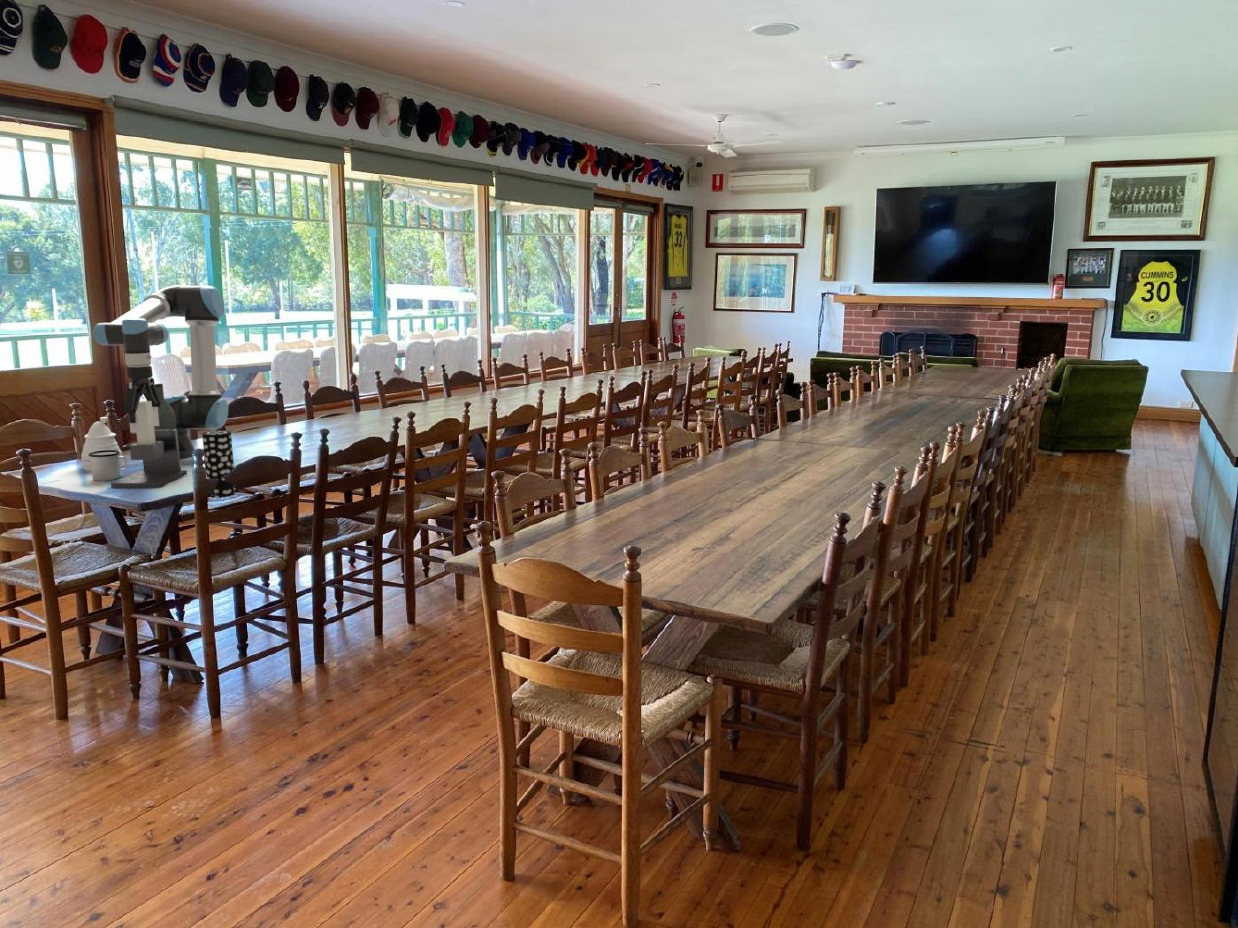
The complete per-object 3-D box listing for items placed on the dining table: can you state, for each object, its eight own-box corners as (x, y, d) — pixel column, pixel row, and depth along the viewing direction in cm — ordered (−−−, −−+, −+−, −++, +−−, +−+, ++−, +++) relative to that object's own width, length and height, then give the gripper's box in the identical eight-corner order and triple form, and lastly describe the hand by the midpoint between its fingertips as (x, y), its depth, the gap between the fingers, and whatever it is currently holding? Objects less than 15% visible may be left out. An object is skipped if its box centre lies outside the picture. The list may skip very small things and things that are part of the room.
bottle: (172, 468, 331) (164, 385, 325) (147, 468, 331) (139, 385, 325) (185, 463, 340) (177, 382, 334) (160, 463, 340) (152, 382, 334)
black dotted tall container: (239, 491, 296) (235, 430, 292) (230, 497, 288) (224, 435, 284) (213, 491, 296) (208, 430, 292) (203, 497, 288) (197, 435, 284)
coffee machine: (141, 474, 321) (136, 429, 318) (187, 474, 321) (183, 429, 318) (111, 487, 301) (106, 439, 298) (160, 487, 302) (155, 439, 298)
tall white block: (144, 453, 311) (139, 401, 308) (156, 453, 311) (151, 401, 308) (138, 455, 307) (133, 402, 304) (151, 455, 307) (145, 402, 304)
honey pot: (121, 462, 342) (116, 414, 338) (124, 468, 331) (119, 419, 328) (81, 465, 335) (75, 417, 331) (83, 472, 324) (78, 421, 321)
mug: (100, 482, 308) (97, 456, 306) (85, 479, 313) (82, 453, 311) (135, 476, 318) (132, 450, 316) (119, 473, 323) (117, 447, 321)
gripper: (131, 369, 291) (138, 435, 295) (167, 362, 316) (173, 423, 320) (107, 369, 291) (114, 435, 295) (145, 362, 315) (151, 423, 320)
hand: (145, 429), depth 308 cm, fingers open, 13 cm apart
